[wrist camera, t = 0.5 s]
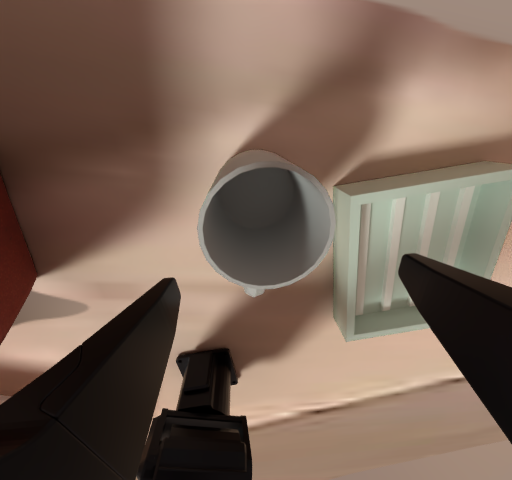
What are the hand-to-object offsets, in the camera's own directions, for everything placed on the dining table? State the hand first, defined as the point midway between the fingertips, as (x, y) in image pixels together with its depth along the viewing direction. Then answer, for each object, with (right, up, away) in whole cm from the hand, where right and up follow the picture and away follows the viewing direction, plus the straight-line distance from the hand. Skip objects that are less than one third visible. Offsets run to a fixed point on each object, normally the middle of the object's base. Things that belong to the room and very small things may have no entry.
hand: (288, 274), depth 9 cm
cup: (-2, +4, +12) cm, 12 cm away
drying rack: (+13, 0, +14) cm, 20 cm away
